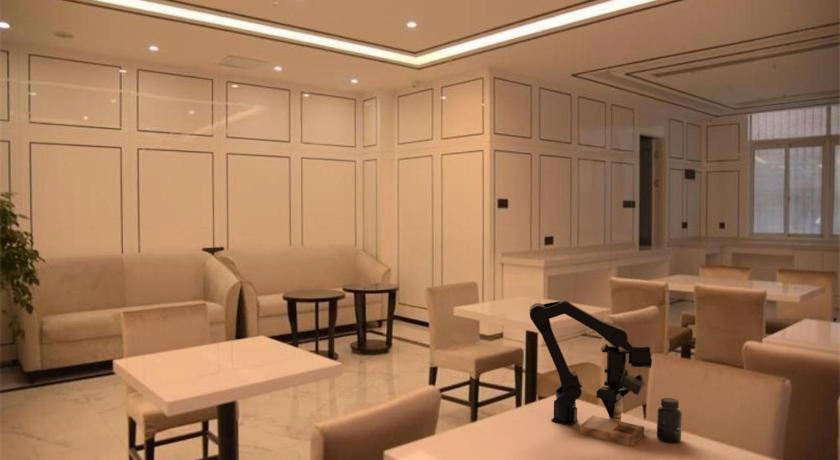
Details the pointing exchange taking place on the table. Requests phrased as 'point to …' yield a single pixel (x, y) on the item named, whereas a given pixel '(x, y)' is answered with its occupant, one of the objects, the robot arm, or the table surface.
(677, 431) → the supplement bottle
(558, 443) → the table surface
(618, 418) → the peg
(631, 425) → the board
